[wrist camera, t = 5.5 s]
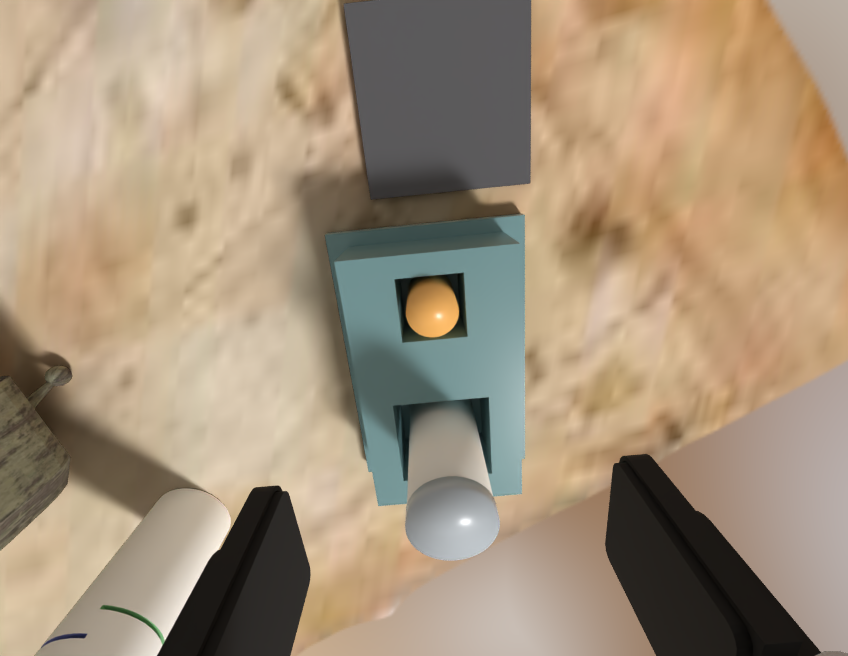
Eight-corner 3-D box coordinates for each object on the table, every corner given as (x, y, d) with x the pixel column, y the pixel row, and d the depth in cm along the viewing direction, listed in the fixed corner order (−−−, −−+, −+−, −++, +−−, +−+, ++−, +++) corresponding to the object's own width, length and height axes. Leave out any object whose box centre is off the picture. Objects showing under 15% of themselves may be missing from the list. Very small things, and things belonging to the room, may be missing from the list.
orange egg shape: (405, 272, 27) (402, 289, 23) (451, 267, 27) (457, 284, 23) (410, 315, 28) (408, 339, 24) (454, 311, 28) (460, 334, 24)
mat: (345, 7, 24) (343, 3, 23) (528, -14, 23) (531, -18, 23) (371, 199, 28) (370, 199, 27) (528, 183, 27) (530, 183, 27)
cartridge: (406, 378, 32) (400, 494, 20) (469, 373, 32) (498, 486, 20) (413, 431, 34) (410, 563, 22) (472, 425, 34) (500, 556, 22)
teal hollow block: (327, 232, 28) (305, 247, 23) (521, 213, 28) (546, 223, 23) (370, 464, 36) (361, 517, 31) (522, 451, 36) (541, 502, 30)
